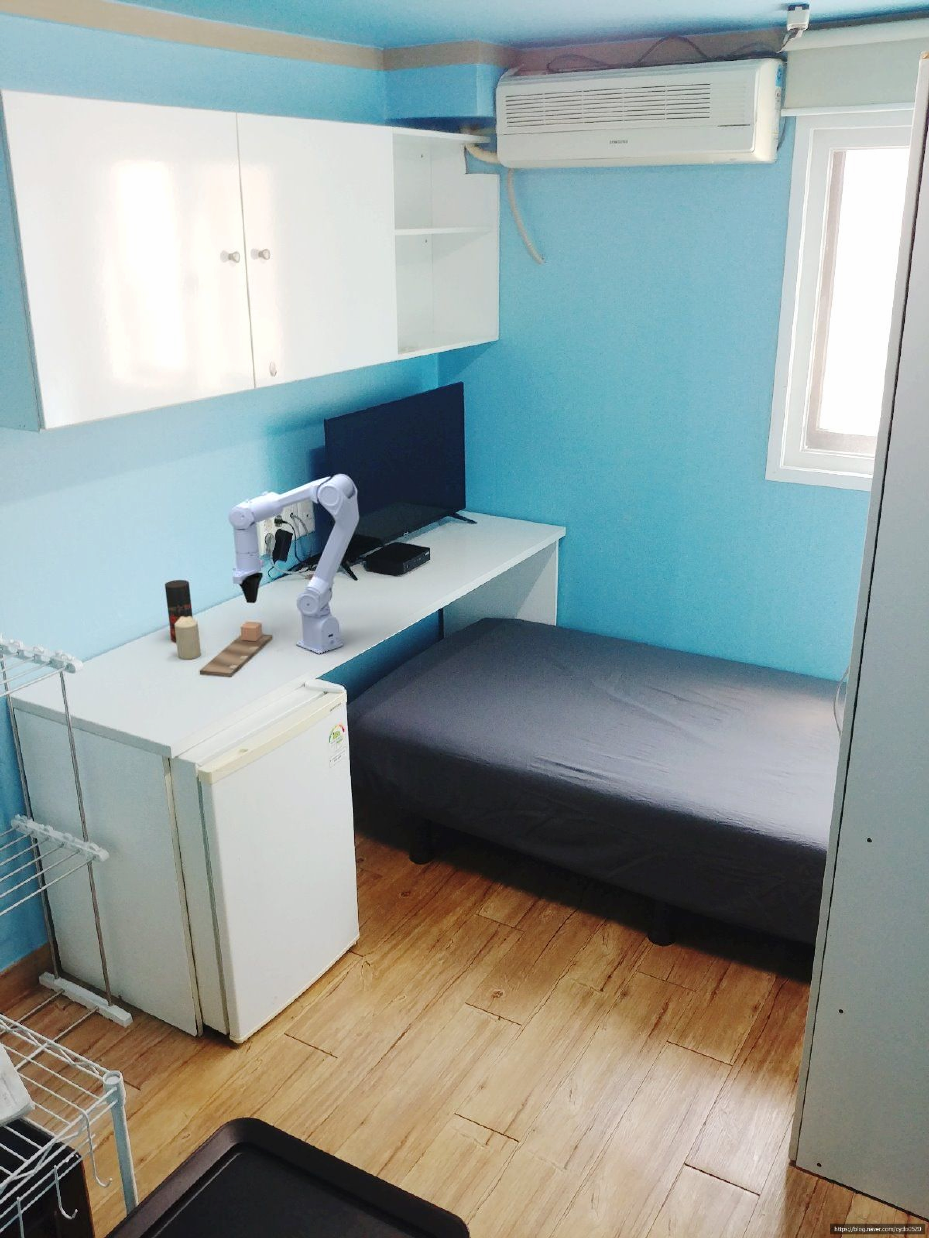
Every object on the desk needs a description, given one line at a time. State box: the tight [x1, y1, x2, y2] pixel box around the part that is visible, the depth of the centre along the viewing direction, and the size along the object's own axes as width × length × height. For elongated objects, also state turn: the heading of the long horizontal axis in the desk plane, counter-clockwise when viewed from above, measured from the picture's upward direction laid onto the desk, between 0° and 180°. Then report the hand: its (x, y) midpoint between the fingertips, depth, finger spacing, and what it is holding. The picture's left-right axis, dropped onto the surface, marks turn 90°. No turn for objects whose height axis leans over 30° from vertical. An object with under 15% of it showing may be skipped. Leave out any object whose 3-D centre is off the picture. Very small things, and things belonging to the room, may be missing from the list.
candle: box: [175, 616, 202, 660], centre depth 265 cm, size 6×6×10 cm
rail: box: [198, 633, 273, 678], centre depth 266 cm, size 25×8×1 cm, turn 167°
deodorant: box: [164, 579, 194, 644], centre depth 274 cm, size 6×6×15 cm
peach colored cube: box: [240, 621, 264, 641], centre depth 273 cm, size 4×4×4 cm
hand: (251, 602), depth 272 cm, fingers closed
